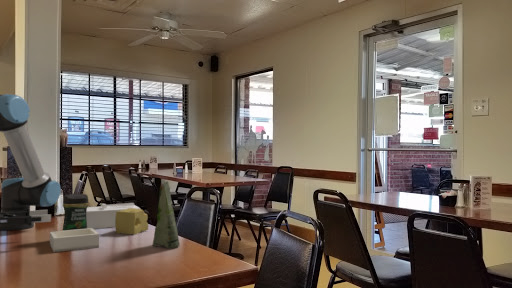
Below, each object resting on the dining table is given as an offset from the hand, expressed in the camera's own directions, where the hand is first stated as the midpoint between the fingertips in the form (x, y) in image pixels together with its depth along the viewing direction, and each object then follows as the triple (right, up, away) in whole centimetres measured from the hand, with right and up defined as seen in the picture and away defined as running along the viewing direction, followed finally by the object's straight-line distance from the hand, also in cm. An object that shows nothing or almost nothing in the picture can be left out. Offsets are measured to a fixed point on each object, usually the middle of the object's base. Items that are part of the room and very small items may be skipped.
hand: (49, 215), depth 161 cm
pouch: (+47, -11, -5) cm, 49 cm away
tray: (+13, -11, -6) cm, 18 cm away
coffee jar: (+8, -11, +5) cm, 14 cm away
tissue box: (+11, -12, +38) cm, 41 cm away
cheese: (+26, -11, +21) cm, 36 cm away
